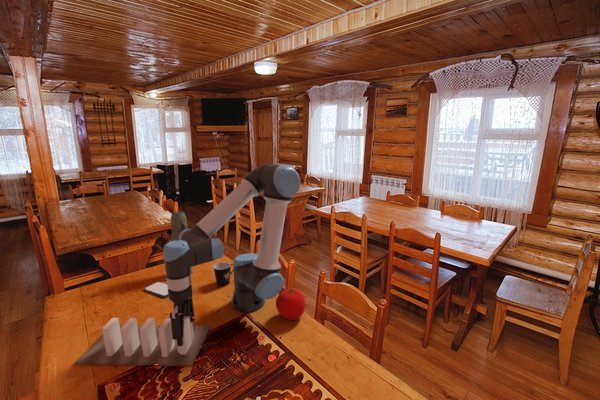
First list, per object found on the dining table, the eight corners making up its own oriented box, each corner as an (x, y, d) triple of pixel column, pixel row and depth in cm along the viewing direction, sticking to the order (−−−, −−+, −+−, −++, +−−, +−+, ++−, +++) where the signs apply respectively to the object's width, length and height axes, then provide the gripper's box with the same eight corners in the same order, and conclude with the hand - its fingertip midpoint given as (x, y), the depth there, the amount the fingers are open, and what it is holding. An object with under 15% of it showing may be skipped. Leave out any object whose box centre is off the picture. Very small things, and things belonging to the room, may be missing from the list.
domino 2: (140, 344, 111) (136, 317, 108) (130, 356, 105) (126, 328, 102) (134, 344, 111) (130, 317, 108) (125, 356, 105) (120, 328, 102)
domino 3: (157, 344, 110) (154, 318, 108) (149, 356, 105) (145, 329, 102) (152, 344, 110) (148, 318, 108) (143, 356, 105) (139, 328, 102)
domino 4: (175, 344, 110) (171, 318, 108) (167, 356, 104) (164, 329, 102) (169, 344, 110) (166, 318, 108) (162, 356, 105) (158, 329, 102)
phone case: (142, 291, 149) (164, 299, 142) (142, 288, 149) (164, 296, 141) (158, 283, 157) (180, 290, 149) (158, 281, 156) (179, 287, 149)
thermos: (186, 279, 160) (180, 216, 152) (170, 274, 165) (163, 213, 157) (198, 271, 168) (192, 211, 160) (182, 268, 173) (176, 209, 164)
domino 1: (122, 343, 111) (118, 317, 108) (112, 356, 105) (107, 328, 102) (117, 343, 111) (112, 317, 108) (106, 355, 105) (101, 328, 102)
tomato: (307, 310, 132) (307, 284, 129) (301, 327, 121) (301, 299, 118) (280, 307, 135) (280, 281, 132) (272, 323, 124) (271, 295, 121)
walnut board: (210, 327, 121) (210, 325, 121) (191, 366, 102) (191, 363, 101) (112, 326, 122) (112, 324, 122) (75, 364, 102) (75, 362, 102)
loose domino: (192, 342, 110) (189, 316, 107) (185, 354, 104) (182, 326, 101) (186, 342, 110) (183, 316, 107) (180, 354, 104) (176, 326, 102)
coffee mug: (216, 289, 150) (214, 270, 148) (213, 281, 158) (212, 263, 155) (239, 284, 154) (238, 266, 152) (235, 276, 162) (234, 259, 160)
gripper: (180, 272, 111) (186, 327, 116) (154, 301, 92) (163, 365, 98) (200, 273, 110) (205, 327, 116) (179, 302, 92) (186, 365, 97)
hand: (186, 345), depth 107 cm, fingers closed on loose domino, 6 cm apart
